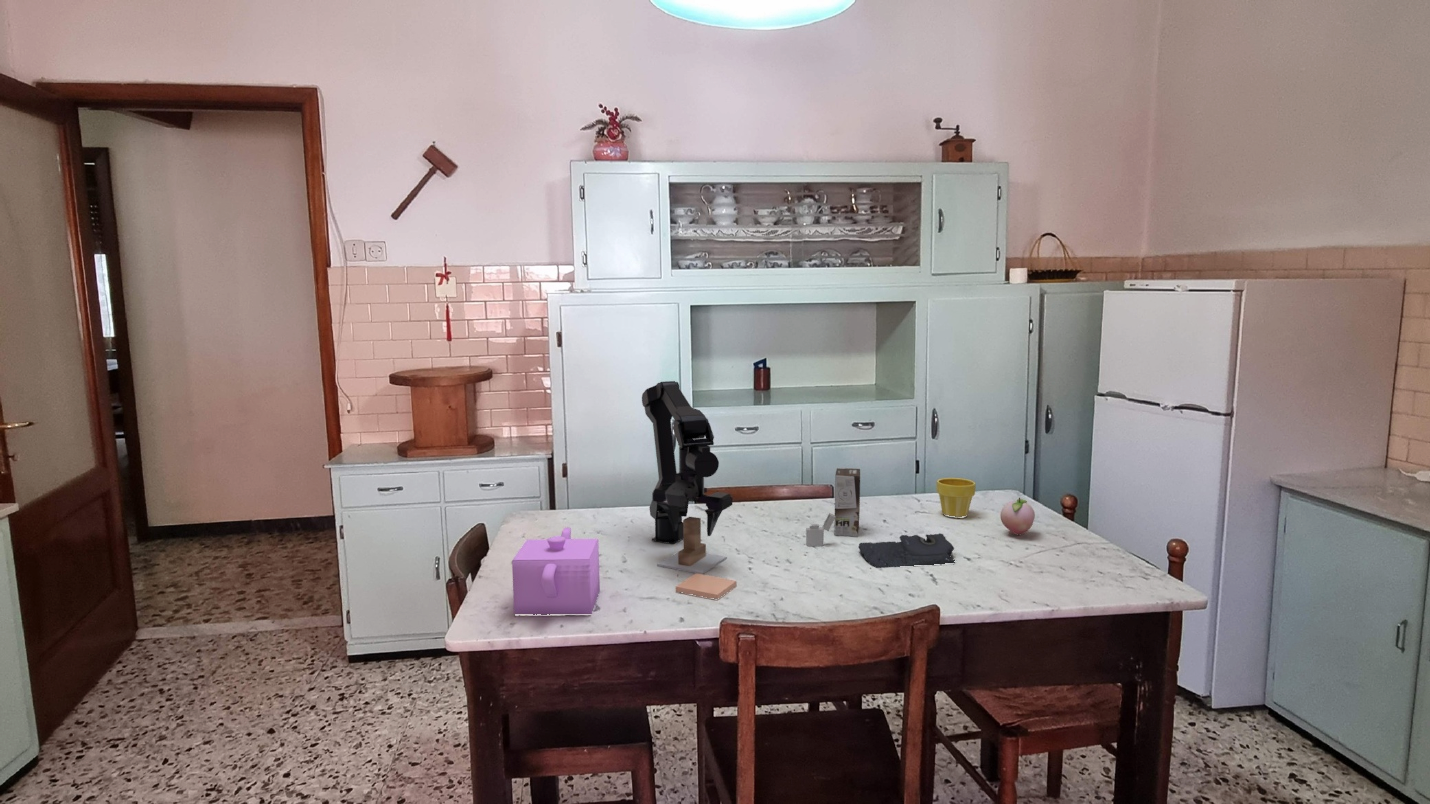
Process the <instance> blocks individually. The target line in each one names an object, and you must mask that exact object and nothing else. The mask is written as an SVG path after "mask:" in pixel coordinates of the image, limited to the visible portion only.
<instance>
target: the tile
mask: <svg viewBox="0 0 1430 804" xmlns="http://www.w3.org/2000/svg"><path fill="white" fill-rule="evenodd" d="M737 583H738V581H737V580H733V579H730V578H729V579H728V578H723V577H720V576H719V577H718V576H713V575H708V574H707V575H706V574H698V573H693V575H691V576H690V577H688V578H687V579H685V580H683V581H682V582H681V583H679V584H677V585H676V586H675V593H677V592H683V593H686V594H685V595H687V594H693V595H696V596H695V597H697V596H703V597H707V598H714V599H718V598H720V597H721V596H723V595H724V594H725V595H727V594H728V593H729V592H731V591H733V590H734V589H735V588H736V587H737ZM734 587H735V588H734ZM733 588H734V589H733ZM730 590H731V591H730ZM727 592H728V593H727ZM726 593H727V594H726ZM725 595H724V596H725ZM724 596H723V597H724ZM707 598H706V599H707ZM721 598H722V597H721ZM721 598H720V599H721Z"/></svg>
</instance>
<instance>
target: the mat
mask: <svg viewBox="0 0 1430 804" xmlns="http://www.w3.org/2000/svg"><path fill="white" fill-rule="evenodd" d="M678 552H679V551H678ZM678 552H675V553H674V554H672V555H670V556H669V557H667V558H665V559H663V560H661V561H660V562H657V563H656V567H659V568H660V567H661V568H666V569H671V568H672V570H677V571H681V570H683V571H682V572H688V573H692V572H693V573H692V574H696V573H698V574H703V575H705V573H707V572H708V571H710V570H711V569H713V568H714V567H716V566H718V565H719V564H721V563H722V562H724V561H725V560H727V559H728V556H726V555H719V554H714V553H709V552H706V556H705V557H704V558H702V559H700V560H699V561H697V562H696V563H694V564H693V565H691V566H685V565H679V564H678Z"/></svg>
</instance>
